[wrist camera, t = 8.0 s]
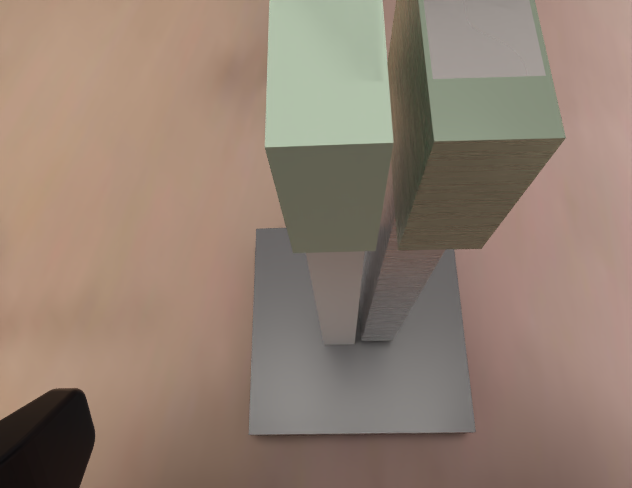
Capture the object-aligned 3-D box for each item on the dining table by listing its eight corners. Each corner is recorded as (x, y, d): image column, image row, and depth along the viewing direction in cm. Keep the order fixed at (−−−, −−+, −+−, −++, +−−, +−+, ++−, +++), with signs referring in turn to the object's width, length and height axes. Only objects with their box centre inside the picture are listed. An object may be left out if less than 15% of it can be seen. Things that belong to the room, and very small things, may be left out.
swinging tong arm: (395, 361, 16) (565, 138, 4) (360, 362, 16) (434, 141, 4) (389, 276, 17) (513, -91, 5) (357, 277, 17) (409, -86, 5)
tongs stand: (464, 433, 17) (950, 392, 3) (256, 435, 17) (-66, 407, 4) (443, 238, 19) (670, -225, 6) (262, 244, 20) (87, -187, 6)
